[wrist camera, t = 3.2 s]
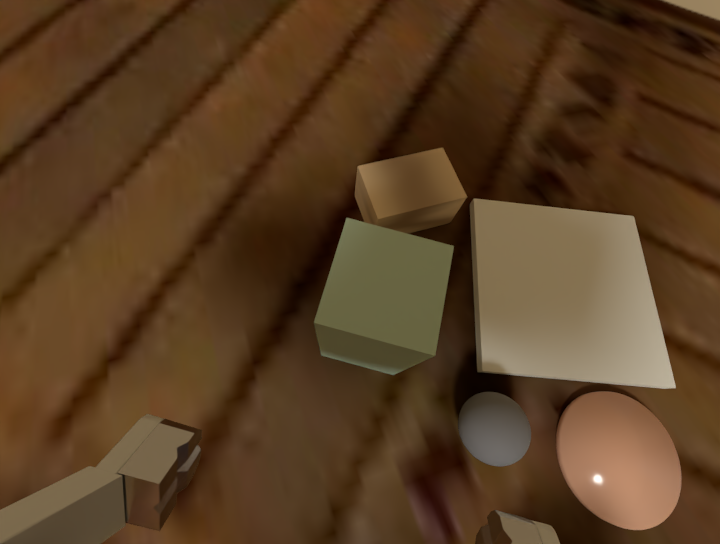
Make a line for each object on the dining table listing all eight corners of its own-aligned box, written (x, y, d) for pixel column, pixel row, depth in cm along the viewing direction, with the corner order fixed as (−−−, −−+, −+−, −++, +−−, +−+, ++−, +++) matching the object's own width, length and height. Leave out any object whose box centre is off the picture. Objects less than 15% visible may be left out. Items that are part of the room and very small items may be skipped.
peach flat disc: (652, 396, 22) (664, 395, 21) (682, 528, 19) (696, 534, 18) (545, 387, 21) (553, 386, 21) (560, 520, 19) (570, 525, 18)
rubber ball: (507, 395, 21) (541, 393, 17) (512, 462, 19) (550, 475, 16) (448, 390, 20) (471, 387, 17) (449, 457, 19) (474, 469, 16)
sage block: (408, 305, 22) (453, 246, 14) (393, 375, 21) (435, 355, 12) (341, 287, 22) (346, 217, 14) (321, 355, 21) (313, 322, 12)
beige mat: (625, 221, 26) (633, 216, 25) (663, 388, 22) (675, 388, 21) (469, 204, 25) (473, 198, 25) (477, 371, 21) (482, 370, 20)
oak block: (429, 179, 26) (442, 147, 23) (449, 223, 25) (467, 196, 22) (354, 196, 25) (357, 165, 22) (371, 244, 24) (377, 219, 21)
